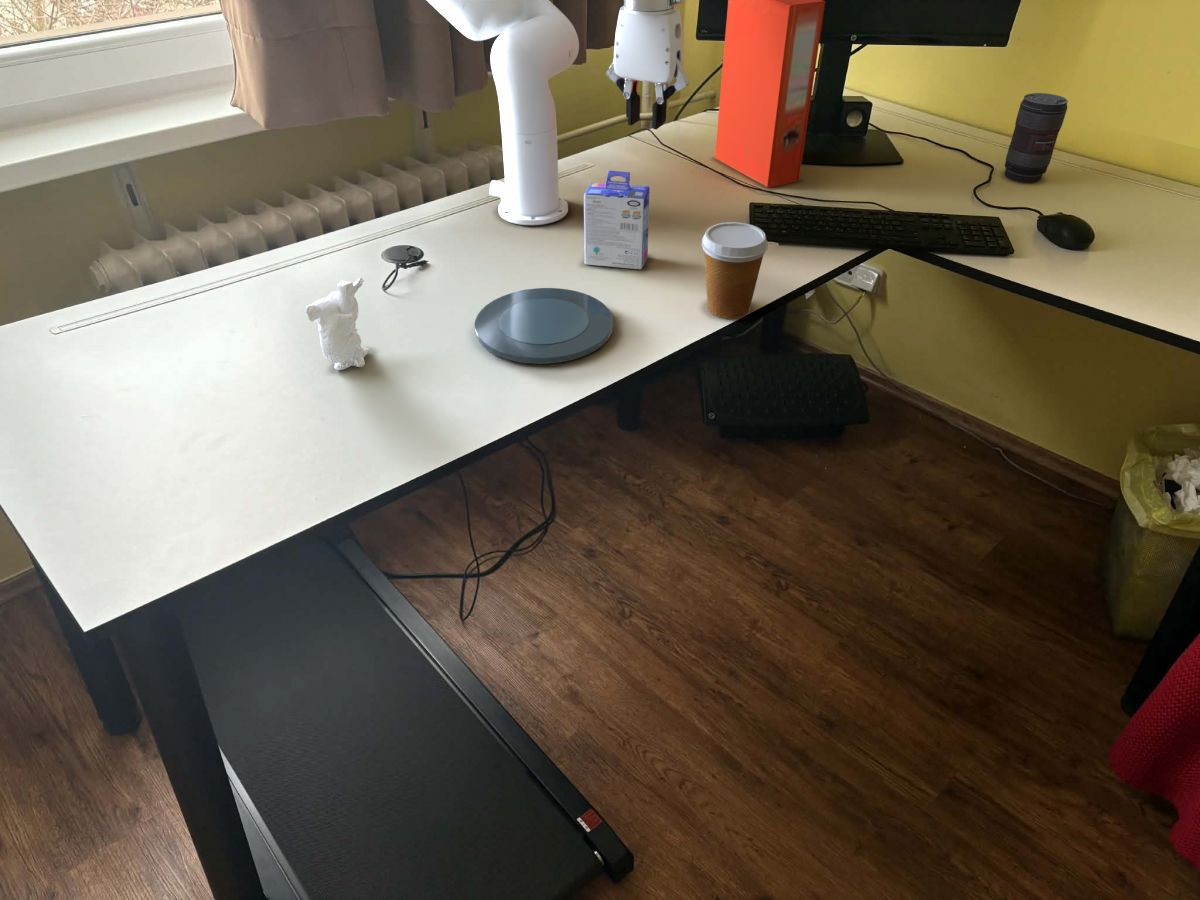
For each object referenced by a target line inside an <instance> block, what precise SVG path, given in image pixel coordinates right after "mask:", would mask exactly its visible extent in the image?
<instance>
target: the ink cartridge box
mask: <svg viewBox="0 0 1200 900" xmlns="http://www.w3.org/2000/svg"><path fill="white" fill-rule="evenodd" d="M613 177H620V178H621V177H622V178H623V179H625V181H619V180H612V179H611V178H613ZM630 179H631V172H630V171H618V170H607V176H606V181H605V183H600V182H591V183H590V184H589V185H588V188H587V189H586V190H585V192H584V193H583V230H584V231H583V233H584V236H583V239H584V240H583V241H584V243H583V244H584V245H583V246H584V261H583V262H584V263H583V264H584V265H587V266H600V267H612V268H622V269H632V270H633V269H634V270H643V267H644V265H645V264H646V261H647V260H648V256H649V255H648V254H649V222H650V221H649V220H650V186H649V185H640V184H639V185H636V184H630V182H631V180H630Z"/></svg>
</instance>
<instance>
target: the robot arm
mask: <svg viewBox="0 0 1200 900" xmlns="http://www.w3.org/2000/svg"><path fill="white" fill-rule="evenodd" d="M426 1H427V2H428V4H429V5H431V6H432V7H433V8H434V9H435V10H436V11H437V12H438V13H439V14H440V15H441V16H442V17H443V18H444V19H445V20H447V21H448V22H449V24H451V25H452V26H453V27H454V28H455V29H456V30H458V31H459V32H460V33H461V34H462V35H463V36H464V37H466V38H467V39H468V40H471V41H474V42H483V41H486V40H489V39H492V38H495V37H496V39H495V40H494V43H493V44H492V47H491V51H490V69H491V72H492V77H493V81H494V84H495V88H496V94H497V99H498V106H499V117H500V118H499V119H500V120H499V121H500V129H501V140H502V141H501V142H502V143H501V144H502V156H503V171H504V182H503V181H501V180H495V179H492V180H491V181H490V184H489V190H488V194H489V196H492V197H499V199H500V202H499V204H498V209H497V210H498V215H499V216H500V217H501V218H502V219H503V220H504V221H506V222H509V223H510V224H511V223H512V224H515V225H521V226H542V225H548V224H552V223H555V222H557V221H560V220H562V219H563V218H564V217H565V216H566V215H567V214H568V212H569V203H568V202H567V200H565V198H563V197H561V196H560V185H559V184H560V182H559V180H560V178H559V155H558V154H559V152H558V151H559V150H558V125H557V124H558V123H557V109H556V103H555V100H554V97H553V93H552V92H551V88H550V85H549V80H550V79H552V78H553V77H555V76H557V75H558V74H561V73H563V72H565V71H566V70H567V69H568V68H570V67H571V66H572V65H573V64H574V62H575V61H576V59H577V57H578V55H579V50H580V41H579V36H578V33H577V31H576V29H575V28H576V27H574V25H573V23H572V22H571V21H570V19H569V18H568V17H567V16H566V15H565V14H564V13H563V12H562V11H561V10H560V9H559V8H558V7H557V6H556V5H555V4H553V2H552V1H550V0H426ZM683 3H684V0H623V6H621V7H620V8H619V12H618V16H617V22H616V28H615V37H614V47H613V60H612V62H611V63H610V66H609V67H608V69H607V70H606V73H605V75H606V77H607V78H608V79H609V80H611V82H613V83H614V84H616V86H617V87H618V89H619V90H620V92H621V93H622V97H623V98H624V99H625V101H626V102H625V111H626V112H625V117H626V118H627V125H628V126H634V125H635V124H636V123H637V122H639V121H640V120H641V95H640V94H638V89H639V83H640V82H645V83H653V84H654V91H655V102H654V103H653V104H652V113H651V114H652V115H651V116H652V118H651V128H652V129H653V130H659V128H661V127H662V126H663V125H664V123H665V122H666V120H667V111H668V109H667V108H668V100H669V99H671V97H672V96H674V94H676V93H678V92H679V91H681V90H683V89H685V88H686V87H688V86H689V85H690V81H689V78H688V76H687V74H686V72H685V69H684V33H683V23H682V16H681V15H682V14H681V10H680V9H679V8H676V6H677V5H678V4H679V5H682V4H683ZM674 78H675V81H676V82H674V83H672V82H673V80H674ZM670 83H672V84H671V85H670Z"/></svg>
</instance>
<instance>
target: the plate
mask: <svg viewBox="0 0 1200 900" xmlns="http://www.w3.org/2000/svg"><path fill="white" fill-rule="evenodd" d="M613 329H614V318H613V314H612V312H611V310H610V309H609V308H608V307H607V305H606V304H604V303H603V301H601V300H599V299H598V298H596V297H594V296H591V295H589V294H586V293H584V292H580V291H577V290H573V289H567V288H560V287H558V288H557V287H538V288H536V287H535V288H528V289H523V290H517V291H514V292H510V293H508V294H505V295H501V296H499V297H498V298H496V299H494V300H492V301H490V302H489V303H487V304H486V305H484V307H483V308H481V310H480V311H479V312H478V314H477V315H476V318H475V321H474V333H475V336H476V339H477V340H478V342H479V344H480V345H481V346H482V347H483V348H484V349H486V350H487V351H488V352H490V353H492V354H493V355H496V356H497V357H500V358H503V359H506V360H508V361H512V362H518V363H523V364H524V363H525V364H537V365H538V364H542V365H543V364H544V365H545V364H556V363H563V362H569V361H573V360H576V359H579V358H583V357H584V356H587V355H590V354H591V353H594V352H595V351H597V350H598V349H599V348H601V347H603V345H605V344H606V343H607V341H608V340H609V339H610V337H611V335H612V333H613Z"/></svg>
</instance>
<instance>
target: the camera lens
mask: <svg viewBox="0 0 1200 900" xmlns="http://www.w3.org/2000/svg"><path fill="white" fill-rule="evenodd" d="M1068 102H1069V101H1068V99H1067V98H1066V97H1064V96H1061V95H1057V94H1052V93H1047V92H1046V93H1044V92H1032V93H1028V94H1025V95H1024V96H1023V99H1022V101H1021V102H1020V103H1019V109H1018V111H1017V115H1016V119H1015V122H1014V123H1015V125H1014V130H1013V133H1012V135H1011V140H1010V143H1009V146H1008V149H1007V152H1006V157H1005V163H1004V169H1005V170H1004V176H1005V178H1007V179H1008V180H1010V181H1012V182H1016V183H1020V184H1036V183H1039V182H1040V181H1041V180H1042V178H1043V176H1044V174H1045V173H1046V172H1047V171H1048V167H1049V166H1050V163H1051V160H1052V157H1053V154H1054V150H1055V146H1056V143H1057V139H1058V136H1059V133H1060V131H1061V129H1062V126H1063V123H1064V120H1065V117H1066V114H1067V111H1068Z"/></svg>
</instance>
